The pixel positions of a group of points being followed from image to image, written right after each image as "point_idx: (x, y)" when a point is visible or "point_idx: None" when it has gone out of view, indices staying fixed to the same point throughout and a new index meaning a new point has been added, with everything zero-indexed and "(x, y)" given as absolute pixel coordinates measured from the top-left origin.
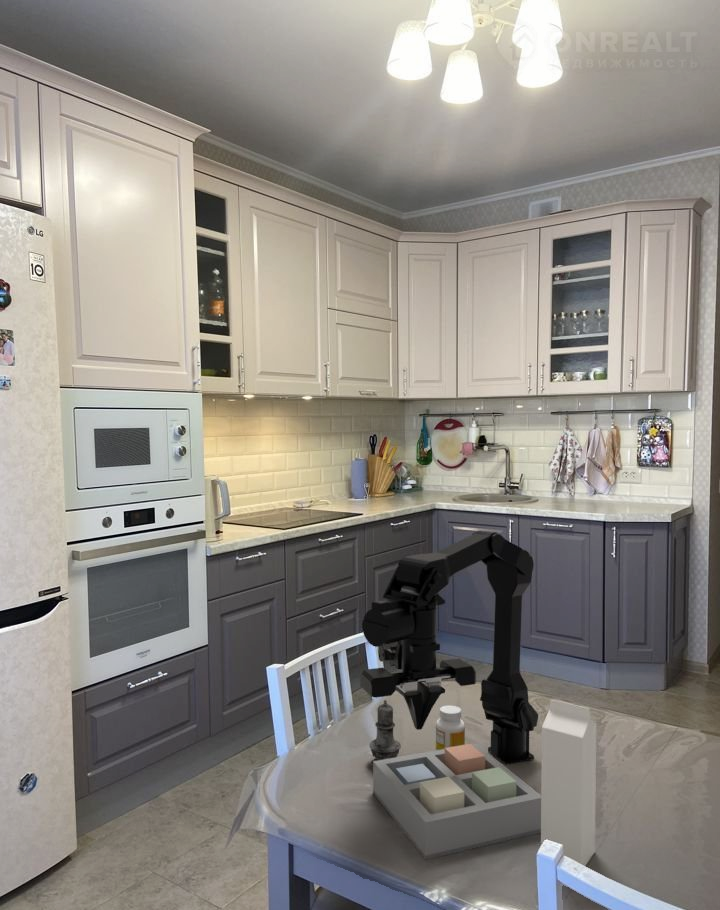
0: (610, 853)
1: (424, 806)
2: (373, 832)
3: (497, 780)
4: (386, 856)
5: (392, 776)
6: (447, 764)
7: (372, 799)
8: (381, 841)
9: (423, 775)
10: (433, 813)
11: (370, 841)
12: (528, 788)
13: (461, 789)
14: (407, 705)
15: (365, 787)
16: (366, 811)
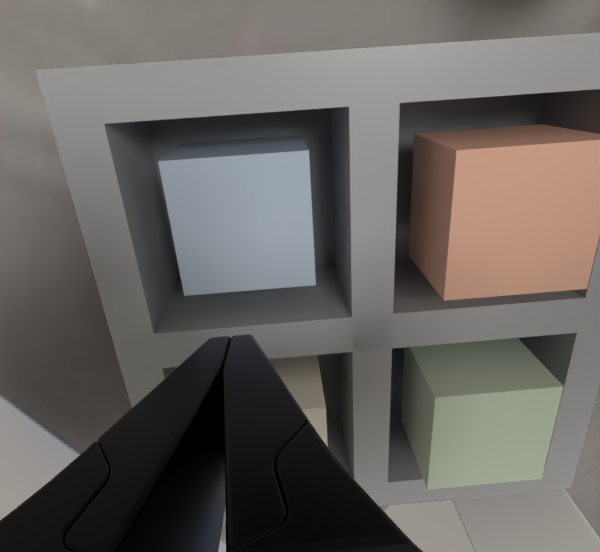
0: (583, 493)
1: None
2: (69, 316)
3: (485, 463)
4: (91, 412)
5: (116, 257)
6: (427, 170)
7: None
8: (87, 358)
9: (267, 260)
10: None
11: (55, 351)
12: (571, 444)
13: None
14: (71, 467)
15: (73, 9)
16: (58, 199)
